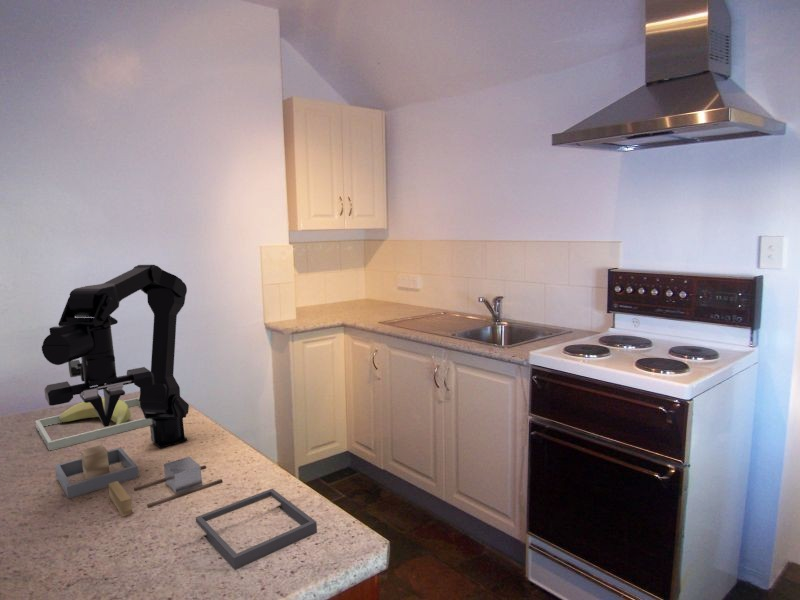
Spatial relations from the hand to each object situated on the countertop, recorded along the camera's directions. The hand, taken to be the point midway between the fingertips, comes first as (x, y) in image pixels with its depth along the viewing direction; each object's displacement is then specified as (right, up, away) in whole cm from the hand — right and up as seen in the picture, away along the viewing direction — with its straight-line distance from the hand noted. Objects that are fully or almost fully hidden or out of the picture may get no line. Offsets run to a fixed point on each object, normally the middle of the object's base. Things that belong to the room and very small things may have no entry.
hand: (106, 425), depth 112 cm
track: (+13, -13, -5) cm, 19 cm away
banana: (-19, -7, +33) cm, 39 cm away
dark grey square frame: (+35, -14, -17) cm, 41 cm away
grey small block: (+17, -11, -3) cm, 20 cm away
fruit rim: (-19, -7, +33) cm, 39 cm away
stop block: (-3, -11, +2) cm, 12 cm away
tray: (-3, -12, +2) cm, 12 cm away
